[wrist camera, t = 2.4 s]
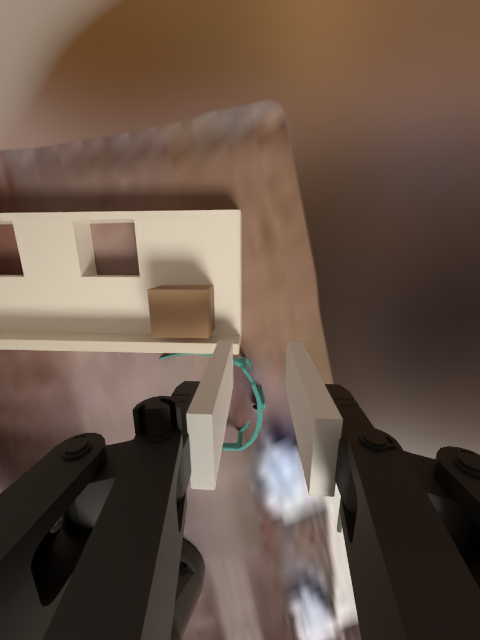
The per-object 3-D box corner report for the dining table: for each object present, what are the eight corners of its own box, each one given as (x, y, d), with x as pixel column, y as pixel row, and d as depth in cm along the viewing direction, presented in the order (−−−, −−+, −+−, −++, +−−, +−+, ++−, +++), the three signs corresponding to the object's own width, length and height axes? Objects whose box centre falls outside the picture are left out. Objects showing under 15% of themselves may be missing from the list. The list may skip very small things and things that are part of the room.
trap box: (241, 336, 33) (237, 358, 26) (-42, 332, 35) (-113, 350, 28) (241, 214, 29) (237, 201, 22) (-76, 218, 32) (-166, 208, 25)
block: (214, 327, 30) (208, 338, 26) (165, 326, 30) (151, 337, 26) (213, 285, 28) (207, 289, 24) (161, 285, 29) (147, 289, 25)
